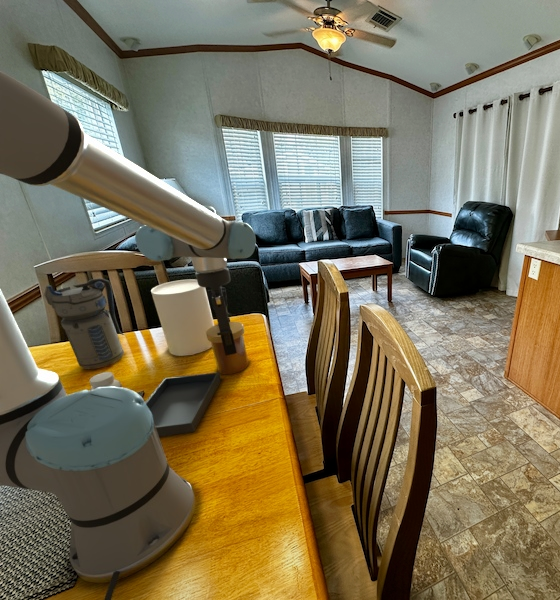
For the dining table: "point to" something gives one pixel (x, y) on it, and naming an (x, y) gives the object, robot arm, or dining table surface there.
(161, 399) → the tray
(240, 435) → the dining table surface
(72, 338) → the beverage bottle
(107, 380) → the pill bottle
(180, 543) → the dining table surface
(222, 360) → the jar
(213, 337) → the lid
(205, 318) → the canister
